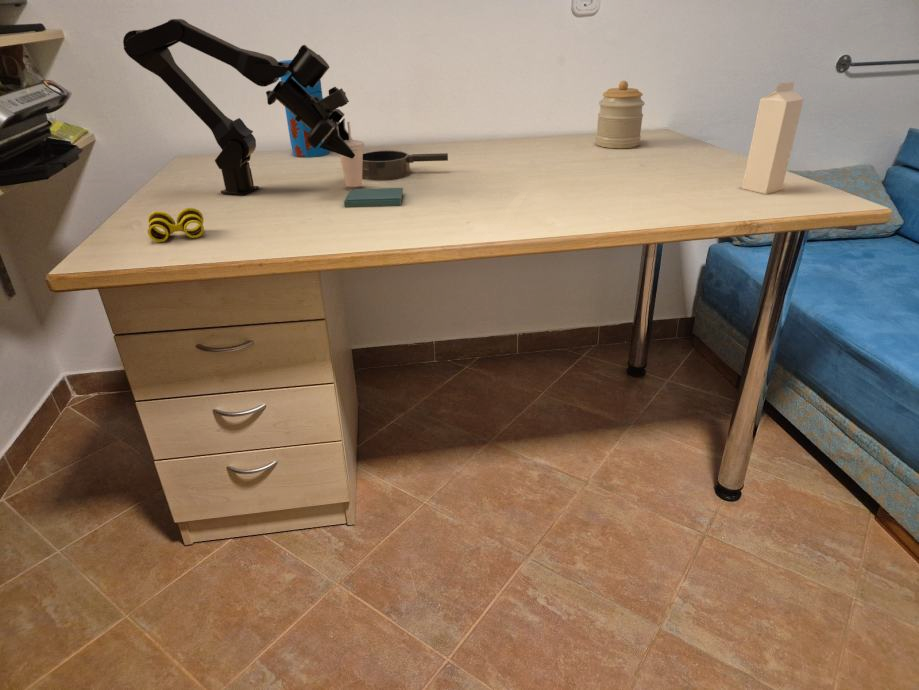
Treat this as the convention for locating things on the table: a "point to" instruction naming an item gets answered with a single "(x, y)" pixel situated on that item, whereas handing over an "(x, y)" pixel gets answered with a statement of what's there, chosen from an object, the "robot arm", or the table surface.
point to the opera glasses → (169, 224)
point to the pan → (385, 165)
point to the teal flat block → (374, 197)
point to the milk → (773, 139)
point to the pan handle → (428, 157)
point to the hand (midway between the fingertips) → (355, 153)
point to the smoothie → (353, 162)
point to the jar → (620, 117)
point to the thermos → (302, 126)
